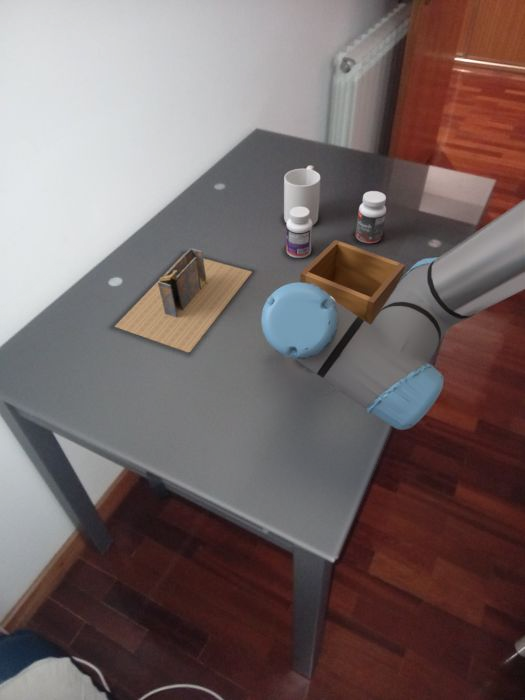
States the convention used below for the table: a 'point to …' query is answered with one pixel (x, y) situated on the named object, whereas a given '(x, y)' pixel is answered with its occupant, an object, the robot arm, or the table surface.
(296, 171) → the mug
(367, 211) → the pill bottle
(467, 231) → the table surface
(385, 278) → the crate
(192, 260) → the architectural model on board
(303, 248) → the pill bottle
